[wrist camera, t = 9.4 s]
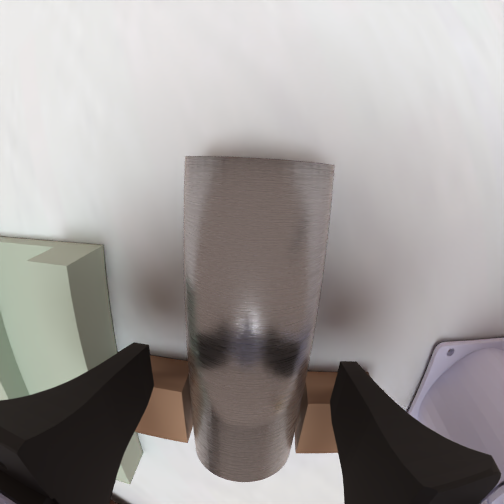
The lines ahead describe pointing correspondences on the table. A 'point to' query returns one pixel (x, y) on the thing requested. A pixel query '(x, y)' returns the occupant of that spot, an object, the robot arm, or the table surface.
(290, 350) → the axle
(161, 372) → the bearing block
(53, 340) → the pale green channelled slab
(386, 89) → the table surface
